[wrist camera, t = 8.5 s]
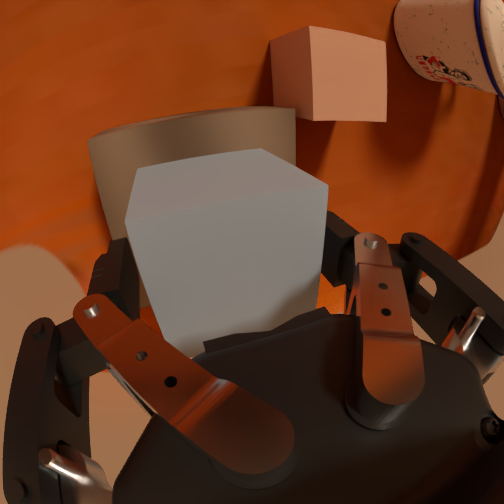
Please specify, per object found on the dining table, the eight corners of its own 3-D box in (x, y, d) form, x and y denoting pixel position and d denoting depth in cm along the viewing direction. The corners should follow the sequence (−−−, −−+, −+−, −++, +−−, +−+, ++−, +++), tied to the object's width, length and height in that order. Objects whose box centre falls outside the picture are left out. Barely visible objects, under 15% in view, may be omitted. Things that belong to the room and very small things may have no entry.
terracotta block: (336, 47, 15) (385, 42, 11) (337, 111, 17) (386, 122, 13) (269, 40, 13) (308, 25, 9) (273, 112, 16) (313, 120, 12)
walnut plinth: (266, 105, 16) (295, 108, 12) (270, 242, 21) (293, 271, 18) (103, 130, 13) (87, 140, 10) (138, 271, 19) (137, 308, 15)
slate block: (261, 148, 13) (328, 185, 8) (264, 251, 16) (313, 322, 11) (137, 168, 12) (124, 222, 7) (162, 274, 15) (173, 360, 10)
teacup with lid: (393, 74, 17) (524, 101, 7) (382, -18, 12) (503, -29, 2) (462, 92, 19) (552, 123, 10) (457, 20, 14) (547, 34, 5)
